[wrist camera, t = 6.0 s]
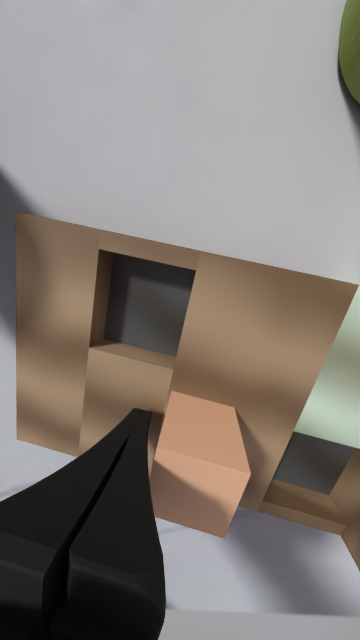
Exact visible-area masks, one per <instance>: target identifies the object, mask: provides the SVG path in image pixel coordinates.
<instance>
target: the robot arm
mask: <svg viewBox="0 0 360 640" xmlns="http://www.w3.org/2000/svg"><path fill="white" fill-rule="evenodd" d="M151 417H152V413H151V412H149V411H146V410H142V409H138V408H133V409H132V410H131V411H130V412H129V413H128V415H127V416H126V417H125V418H124V419H123V420H122V421H121V422H120V423H119V424H118V425H117V426H116V427H114V428H113V429H112V430H111V431H110V432H109V433H108V434H107V435H106V436H104V437H103V438H102V439H101V440H100V441H99V442H97V443H96V444H95V445H94V446H92V447H91V448H90V449H88V450H87V451H86V452H84V453H83V454H82V455H80V456H79V457H78V458H76V459H75V460H73V461H72V462H70V463H69V464H67V465H66V466H64V467H63V468H61V469H59V470H58V471H56V472H55V473H53V474H51V475H49V476H48V477H46V478H44V479H42V480H41V481H39V482H37V483H36V484H34V485H32V486H30V487H28V488H26V489H24V490H23V491H21V492H19V493H17V494H15V495H13V496H11V497H9V498H7V499H5V500H3V501H1V502H0V640H158V638H159V635H160V632H161V629H162V626H163V623H164V618H165V606H166V594H165V576H164V564H163V554H162V549H161V545H160V541H159V536H158V532H157V527H156V521H155V516H154V510H153V504H152V497H151V490H150V481H149V470H148V431H149V427H150V422H151Z"/></svg>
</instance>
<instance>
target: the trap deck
mask: <svg viewBox="0 0 360 640" xmlns="http://www.w3.org/2000/svg"><path fill="white" fill-rule="evenodd" d="M16 384H17V439H18V440H22V441H25V442H28V443H32V444H35V445H38V446H42V447H45V448H48V449H52V450H55V451H59V452H62V453H65V454H69V455H72V456H75V457H79V456H80V455H82V454H83V453H84V452H86V451H87V450H88V449H90V448H91V447H92V446H94V445H95V444H96V443H97V442H99V441H100V440H101V439H102V438H103V437H104V436H106V435H107V434H108V433H109V432H110V431H111V430H112V429H113V428H114V427H116V426H117V425H118V424H119V423H120V422H121V421H122V420H123V419H124V418H125V417H126V416H127V415H128V413H129V412H130V411H131V410H132V409H133V408H138V409H142V410H146V411H149V412H151V413H152V417H151V422H150V427H149V431H148V470H149V478H150V474H151V470H152V465H153V461H154V457H155V453H156V449H157V445H158V441H159V437H160V433H161V429H162V426H163V422H164V418H165V414H166V411H167V407H168V403H169V399H170V395H171V392H172V391H174V392H178V393H182V394H186V395H189V396H193V397H197V398H201V399H204V400H208V401H212V402H216V403H219V404H223V405H227V406H231V407H234V408H235V412H236V416H237V420H238V424H239V428H240V432H241V436H242V440H243V444H244V448H245V452H246V456H247V460H248V464H249V468H250V472H251V475H250V478H249V480H248V482H247V485H246V487H245V490H244V492H243V494H242V497H241V499H240V502H239V504H238V505H240V506H243V507H247V508H250V509H253V510H257V511H260V512H263V513H267V514H270V515H274V516H277V517H280V518H284V519H287V520H290V521H294V522H297V523H300V524H304V525H307V526H311V527H314V528H317V529H321V530H324V531H327V532H331V533H334V534H337V535H341V537H342V539H343V541H344V543H345V544H346V546H347V548H348V550H349V552H350V554H351V556H352V558H353V559H354V561H355V563H356V565H357V567H358V569H359V571H360V285H357V284H352V283H348V282H343V281H338V280H334V279H329V278H324V277H320V276H315V275H310V274H306V273H301V272H296V271H292V270H287V269H282V268H278V267H273V266H268V265H264V264H259V263H254V262H250V261H245V260H240V259H236V258H231V257H226V256H222V255H217V254H212V253H208V252H203V251H198V250H194V249H189V248H184V247H180V246H175V245H170V244H166V243H161V242H156V241H152V240H147V239H142V238H138V237H133V236H128V235H124V234H119V233H114V232H110V231H105V230H100V229H96V228H91V227H86V226H82V225H77V224H72V223H68V222H63V221H58V220H54V219H49V218H44V217H40V216H35V215H30V214H26V213H21V212H16Z"/></svg>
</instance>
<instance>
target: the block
mask: <svg viewBox="0 0 360 640" xmlns="http://www.w3.org/2000/svg"><path fill="white" fill-rule="evenodd" d="M250 475H251V472H250V468H249V464H248V460H247V456H246V452H245V448H244V444H243V440H242V436H241V432H240V428H239V424H238V420H237V416H236V412H235V408H234V407H231V406H227V405H223V404H219V403H216V402H212V401H208V400H204V399H201V398H197V397H193V396H189V395H186V394H182V393H178V392H174V391H172V392H171V395H170V399H169V403H168V407H167V411H166V414H165V418H164V422H163V426H162V429H161V433H160V437H159V441H158V445H157V449H156V453H155V457H154V461H153V465H152V470H151V474H150V478H149V481H150V490H151V497H152V504H153V510H154V516H155V517H157V518H160V519H164V520H167V521H170V522H173V523H177V524H180V525H183V526H186V527H190V528H193V529H196V530H199V531H202V532H206V533H209V534H212V535H215V536H219V537H222V538H225V535H226V533H227V530H228V528H229V526H230V523H231V521H232V518H233V516H234V514H235V511H236V509H237V506H238V504H239V502H240V499H241V497H242V494H243V492H244V490H245V487H246V485H247V482H248V480H249V478H250Z"/></svg>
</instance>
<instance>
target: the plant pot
mask: <svg viewBox="0 0 360 640" xmlns="http://www.w3.org/2000/svg"><path fill="white" fill-rule="evenodd" d="M339 62H340V67H341V72H342V75H343V78H344V81H345V84H346V86H347V88H348V90H349V91H350V93H351V95H352V96H353V97H354V98H355V99H356V101H357V102H358V103H360V0H347V2H346V5H345V8H344V12H343V16H342V21H341V29H340V38H339Z"/></svg>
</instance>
